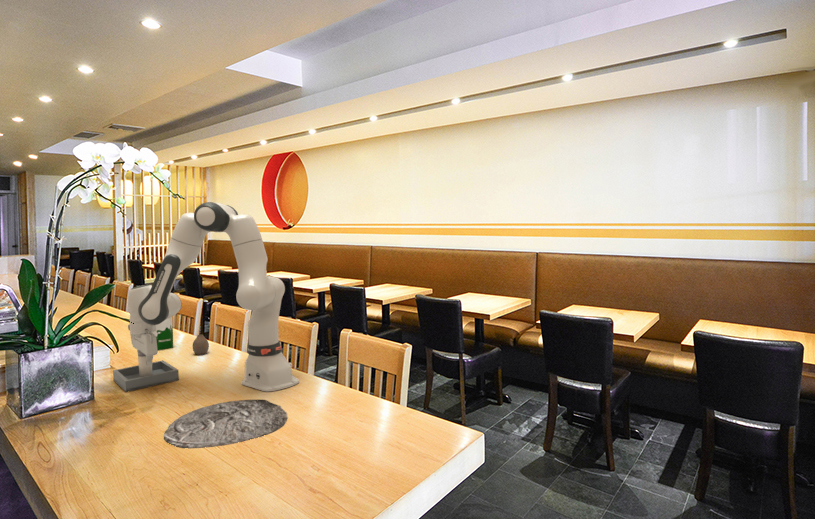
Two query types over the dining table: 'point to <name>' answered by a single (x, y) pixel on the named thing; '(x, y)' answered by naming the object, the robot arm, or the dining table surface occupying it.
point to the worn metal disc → (225, 424)
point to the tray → (132, 381)
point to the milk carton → (164, 334)
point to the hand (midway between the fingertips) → (145, 362)
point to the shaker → (143, 365)
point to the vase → (200, 345)
